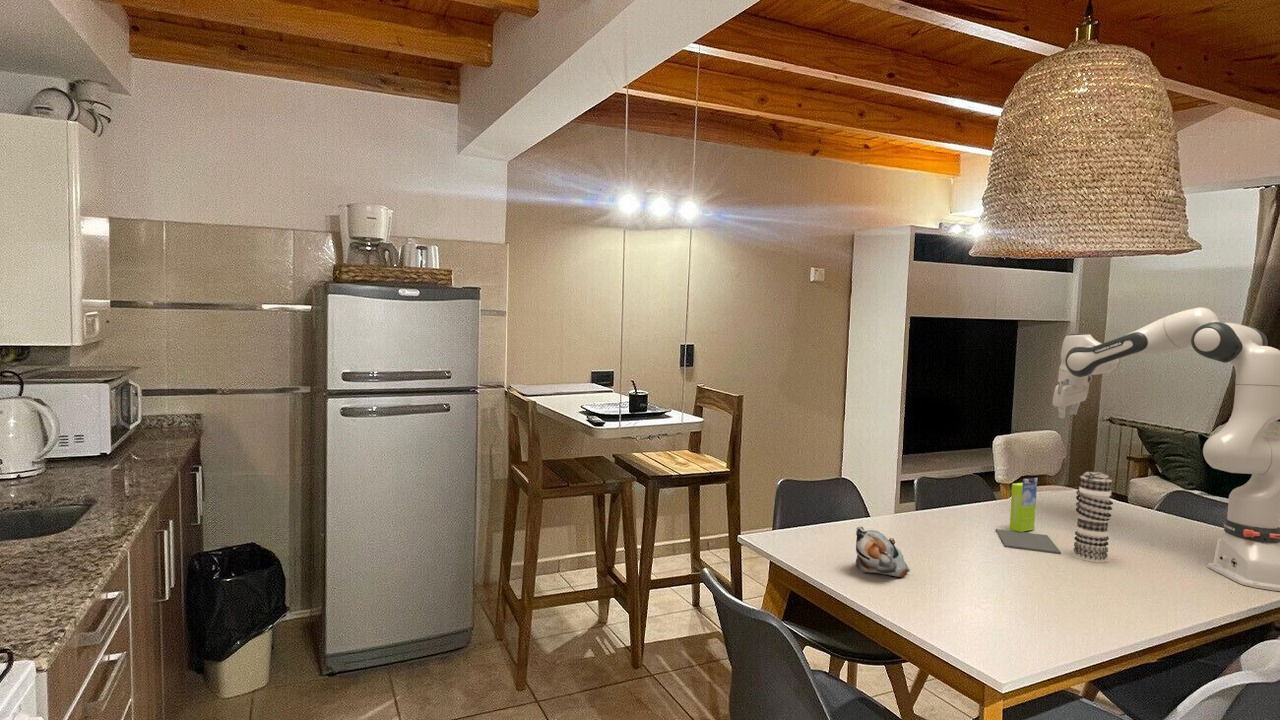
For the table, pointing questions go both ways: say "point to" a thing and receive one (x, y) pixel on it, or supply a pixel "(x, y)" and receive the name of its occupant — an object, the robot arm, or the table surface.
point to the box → (1023, 505)
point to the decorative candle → (1093, 517)
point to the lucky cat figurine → (879, 554)
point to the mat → (1027, 541)
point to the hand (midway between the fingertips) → (1067, 416)
